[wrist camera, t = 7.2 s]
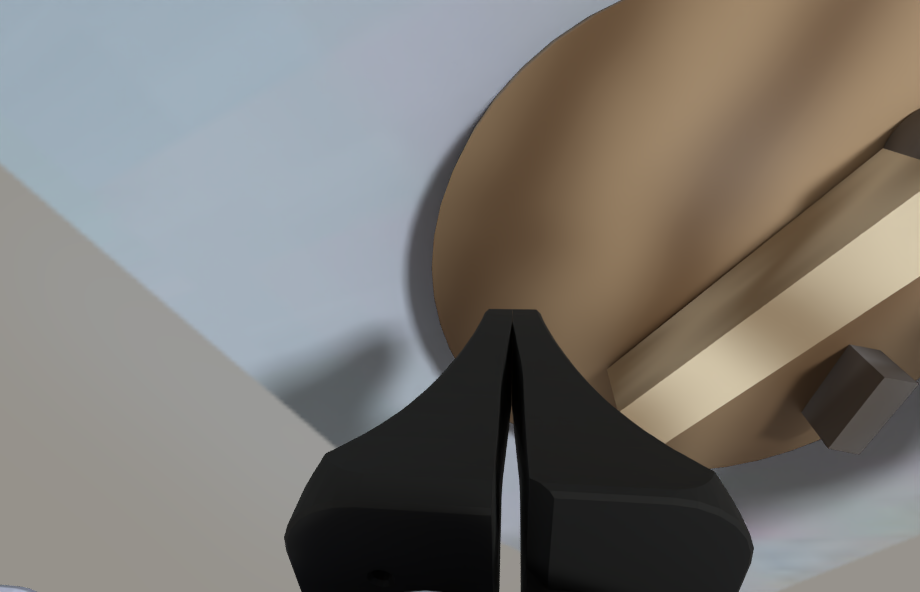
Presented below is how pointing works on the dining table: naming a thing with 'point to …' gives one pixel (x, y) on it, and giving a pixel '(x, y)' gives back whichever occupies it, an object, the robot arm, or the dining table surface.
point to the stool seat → (686, 195)
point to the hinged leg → (782, 295)
